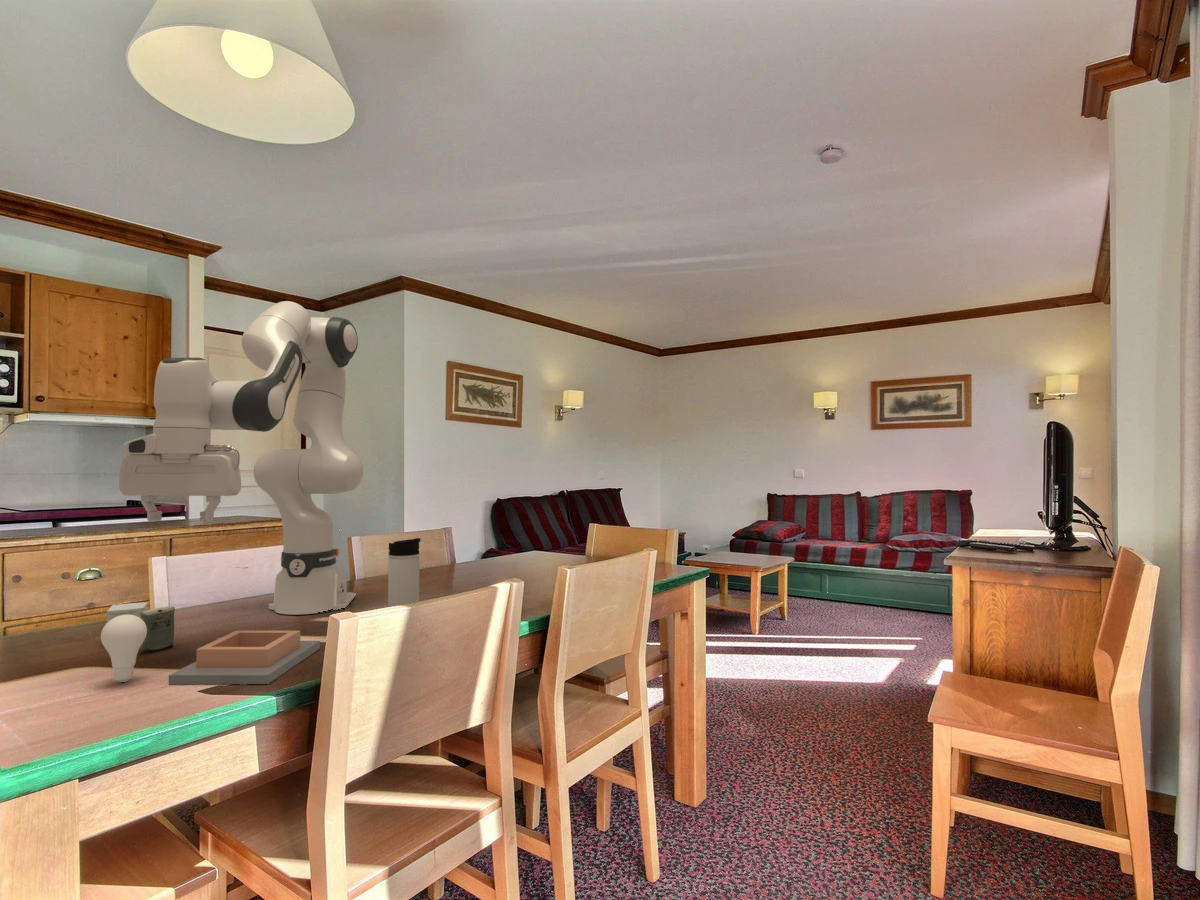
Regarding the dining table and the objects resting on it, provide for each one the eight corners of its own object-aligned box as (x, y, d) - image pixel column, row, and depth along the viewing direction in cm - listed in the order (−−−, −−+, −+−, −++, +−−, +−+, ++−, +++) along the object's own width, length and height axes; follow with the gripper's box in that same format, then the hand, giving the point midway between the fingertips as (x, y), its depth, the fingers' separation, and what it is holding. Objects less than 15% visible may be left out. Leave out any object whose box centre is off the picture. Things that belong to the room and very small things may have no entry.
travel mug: (411, 638, 132) (412, 540, 133) (382, 636, 134) (382, 539, 134) (425, 630, 139) (426, 536, 139) (397, 628, 140) (398, 536, 140)
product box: (105, 648, 125) (105, 610, 125) (111, 640, 130) (111, 604, 130) (143, 644, 128) (144, 607, 128) (148, 637, 133) (148, 601, 133)
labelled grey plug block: (159, 654, 121) (159, 611, 121) (131, 654, 121) (131, 611, 121) (178, 645, 127) (179, 604, 127) (151, 645, 127) (152, 604, 127)
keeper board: (236, 648, 125) (237, 625, 125) (319, 648, 125) (320, 625, 125) (168, 684, 105) (169, 656, 105) (267, 684, 105) (267, 656, 105)
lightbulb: (115, 691, 102) (116, 621, 102) (91, 686, 104) (92, 617, 104) (155, 678, 108) (155, 612, 108) (130, 674, 110) (131, 609, 110)
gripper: (248, 445, 121) (247, 519, 120) (138, 445, 121) (137, 519, 120) (229, 444, 114) (228, 522, 114) (113, 444, 114) (111, 522, 114)
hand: (180, 521), depth 117 cm, fingers open, 8 cm apart
